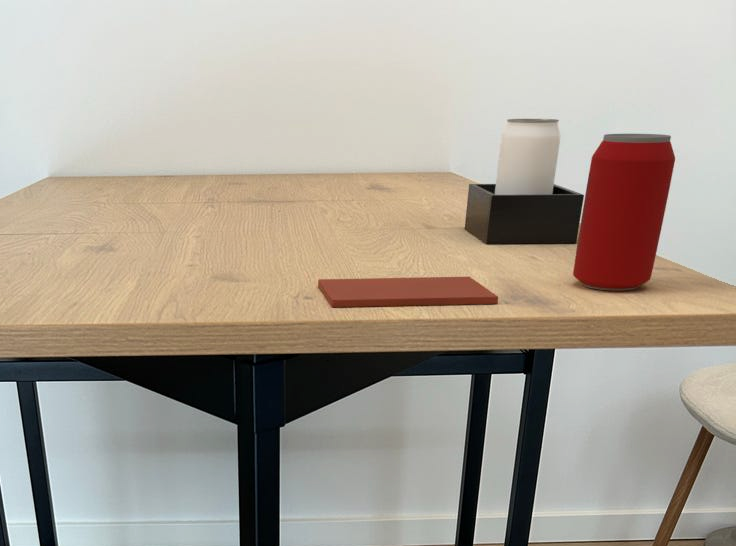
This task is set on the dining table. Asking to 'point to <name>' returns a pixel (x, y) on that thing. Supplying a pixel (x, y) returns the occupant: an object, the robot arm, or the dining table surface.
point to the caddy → (523, 216)
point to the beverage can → (623, 211)
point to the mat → (405, 291)
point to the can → (528, 157)
